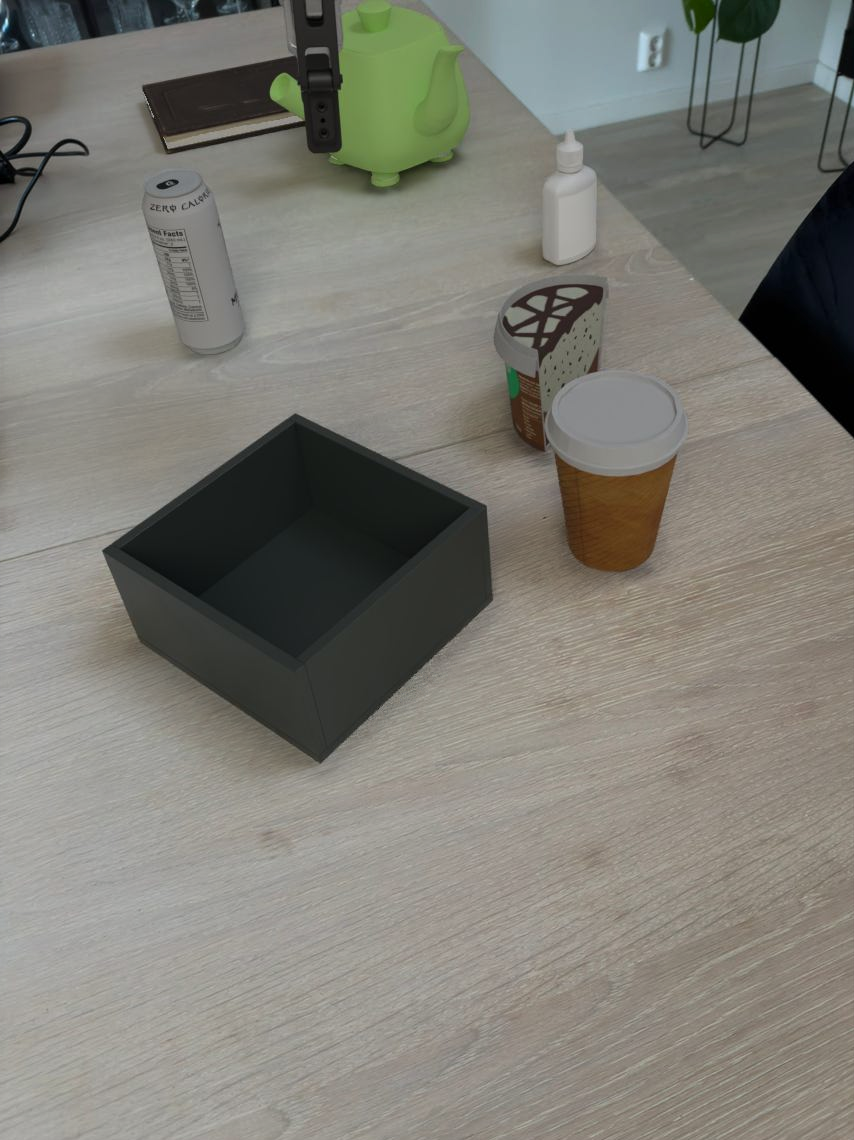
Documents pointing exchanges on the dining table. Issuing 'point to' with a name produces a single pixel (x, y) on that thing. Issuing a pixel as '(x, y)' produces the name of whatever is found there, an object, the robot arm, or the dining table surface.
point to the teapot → (392, 91)
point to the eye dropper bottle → (569, 205)
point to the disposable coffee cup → (615, 463)
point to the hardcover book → (219, 102)
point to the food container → (549, 344)
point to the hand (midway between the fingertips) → (321, 126)
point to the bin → (306, 580)
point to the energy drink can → (193, 260)
